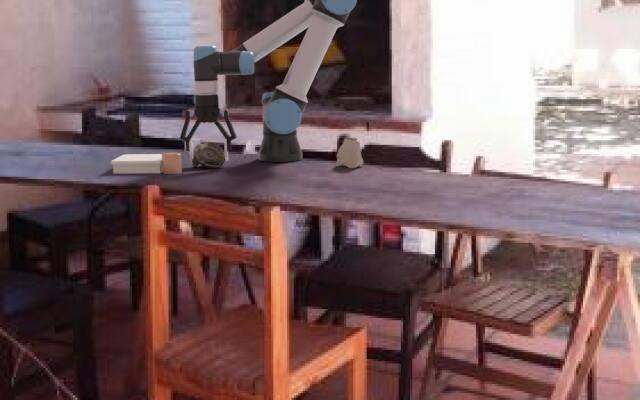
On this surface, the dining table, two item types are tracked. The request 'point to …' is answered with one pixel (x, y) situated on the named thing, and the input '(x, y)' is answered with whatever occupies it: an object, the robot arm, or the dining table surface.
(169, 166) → the peach rounded glossy part
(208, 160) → the fossil
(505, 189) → the dining table surface
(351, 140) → the beige rough lump
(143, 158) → the stand
